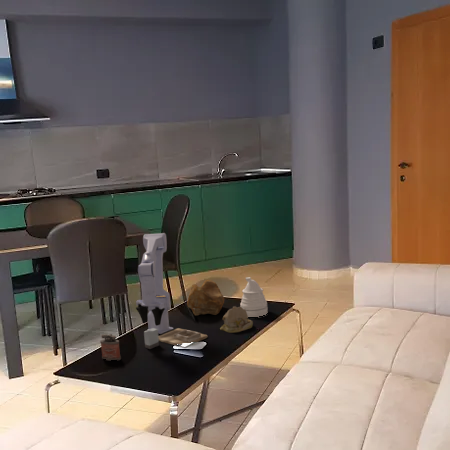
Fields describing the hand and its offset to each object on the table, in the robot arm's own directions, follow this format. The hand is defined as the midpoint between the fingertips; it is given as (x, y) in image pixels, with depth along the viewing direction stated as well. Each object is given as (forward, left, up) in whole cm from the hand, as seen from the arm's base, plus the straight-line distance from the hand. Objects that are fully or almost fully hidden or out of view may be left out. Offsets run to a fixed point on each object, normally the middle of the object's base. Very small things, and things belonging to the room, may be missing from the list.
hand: (151, 323), depth 231 cm
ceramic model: (+15, +36, -10) cm, 40 cm away
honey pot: (+9, +56, -10) cm, 58 cm away
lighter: (-5, -18, -10) cm, 21 cm away
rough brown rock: (-12, +47, -10) cm, 50 cm away
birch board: (+3, +13, -10) cm, 17 cm away
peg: (-1, 0, -10) cm, 10 cm away
